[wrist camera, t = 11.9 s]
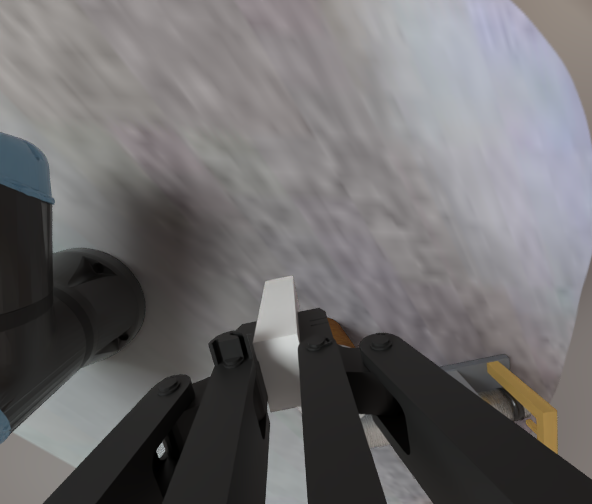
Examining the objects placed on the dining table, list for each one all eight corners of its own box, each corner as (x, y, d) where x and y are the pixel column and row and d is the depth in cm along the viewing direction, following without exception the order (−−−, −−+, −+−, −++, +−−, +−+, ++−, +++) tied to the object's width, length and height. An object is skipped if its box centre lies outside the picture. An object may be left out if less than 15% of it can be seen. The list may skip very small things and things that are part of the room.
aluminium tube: (361, 432, 45) (369, 457, 41) (357, 408, 44) (364, 431, 40) (509, 403, 45) (532, 425, 41) (508, 378, 44) (531, 398, 40)
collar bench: (329, 440, 48) (342, 515, 37) (319, 391, 46) (329, 454, 35) (507, 405, 48) (572, 470, 37) (504, 354, 46) (571, 406, 35)
